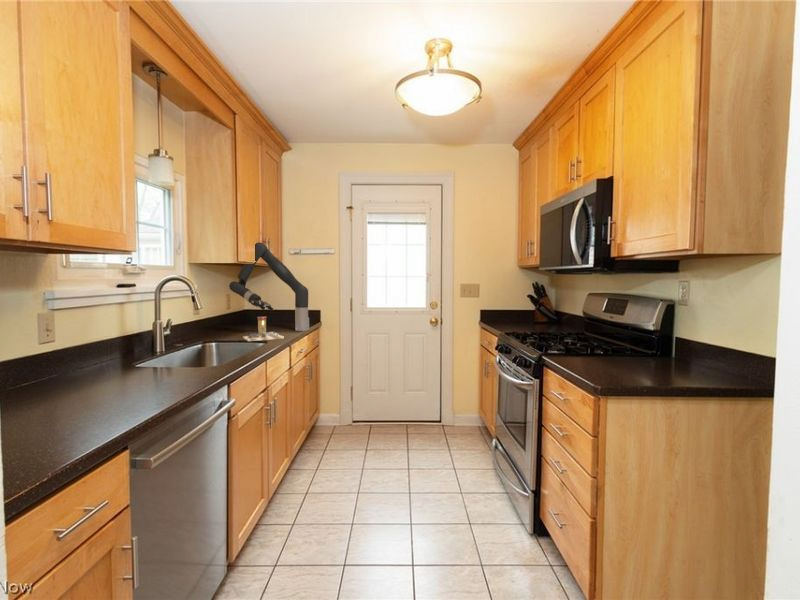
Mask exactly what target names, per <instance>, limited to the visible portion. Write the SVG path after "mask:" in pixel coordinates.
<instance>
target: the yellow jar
mask: <svg viewBox="0 0 800 600" xmlns="http://www.w3.org/2000/svg"><path fill="white" fill-rule="evenodd" d="M267 318H268V316H257V329H258V330H257V331H258V333H257V334H259V335H262V333H265V332H267Z"/></svg>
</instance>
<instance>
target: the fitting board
mask: <svg viewBox="0 0 800 600" xmlns="http://www.w3.org/2000/svg"><path fill="white" fill-rule="evenodd" d="M284 338H285V336H284V335H280V334H279V333H278V332H276V331H269V332H268V331H266V332H265V333H262V335H259V334H258V333H248V335H245V336H242V339H243V340H245V341H247V342H255V341H256V342H257V341H268V340H281V339H282V340H283V339H284Z"/></svg>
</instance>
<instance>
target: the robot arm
mask: <svg viewBox="0 0 800 600" xmlns="http://www.w3.org/2000/svg"><path fill="white" fill-rule="evenodd" d="M254 244H255V243H254ZM260 259H262V260H263V261H264V262H265V263H266V264H267V265H268V266H267V267H269V268H270V270H271V271H272V273H274V274H275V276H276V277H278V278H279V279H280V280H281V281H282V282H284V283H285V284H286V285H287V286H288V287H290V289H291V290H292V291H293V292H294V296H295V297H294V298H295V299H294V306H295V307H294V310H295V313H294V315H295V316H294V319H295V320H294V323H295V324H294V326H295V328H294V329H295V331H296V332H307V331H310V317H309V289H308V288H307V287H306V285H305V286H304V285H303V284H302V283H301V282H300V281H298V279H297V278H296V277H295V276H294V275H293V273H292V271H290V269H289V268H288V267H287V266H286V265H285V264H284V263H283V262H282V261H281V260H280V259H279V258H277V257H276V256H275V255H274V254H273V253H272V252H271V250H269V248H268V247H267V246H266V244H264V243H263V242H256V244H255V261H256V262H255V263H254V264H245V263H244V264H243V266H242V267H241V269H240V271H239V273H238V274H237V278H238V279H239V280H238V281H231V282H229V284H228V287H229V289H230V291H232V292H233V293H235V294H237V295H239V296H240V297H242V298H243V299H244V300H246V301H247V302H248V303H249V304H251V305H252V306H254V307H256V308H260V309H261V310H263V311H264V310H265V309H268V310H269V311H270V312H273V311H274V308H273V307H272V305H271V304H270V303H268V302H267V301H264V300H262V298H261V296H260V295H259V294H257V293H256V292H254V291H252V290H250V289H249V288H248V287H246V285H247V281H248V279H249V277H250V276H251V274H252V273H253V271H254V268H255V265H256V264H257V262H258V261H259V260H260Z"/></svg>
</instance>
